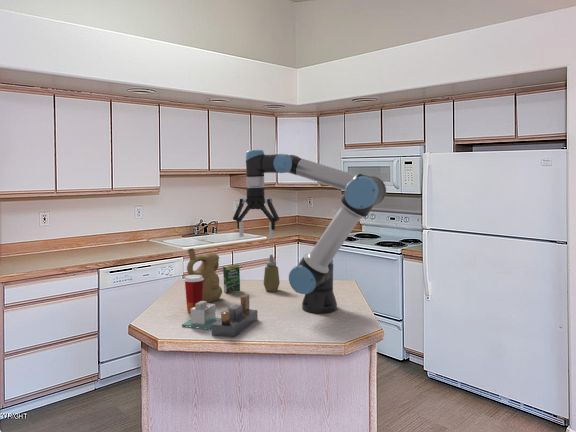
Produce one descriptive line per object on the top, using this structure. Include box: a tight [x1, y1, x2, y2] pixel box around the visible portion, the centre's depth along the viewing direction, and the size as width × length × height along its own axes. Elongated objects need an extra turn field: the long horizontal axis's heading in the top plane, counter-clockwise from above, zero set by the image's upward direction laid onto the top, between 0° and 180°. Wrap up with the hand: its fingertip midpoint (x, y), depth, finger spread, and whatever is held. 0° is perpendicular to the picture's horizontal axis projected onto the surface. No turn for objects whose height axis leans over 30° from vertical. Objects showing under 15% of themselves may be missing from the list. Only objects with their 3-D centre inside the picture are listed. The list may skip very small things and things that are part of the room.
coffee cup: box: [183, 274, 204, 313], centre depth 207 cm, size 8×8×15 cm
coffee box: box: [222, 264, 241, 294], centre depth 240 cm, size 8×3×13 cm, turn 125°
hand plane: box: [211, 293, 259, 338], centre depth 186 cm, size 9×22×10 cm, turn 161°
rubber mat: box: [181, 317, 221, 330], centre depth 191 cm, size 12×12×1 cm
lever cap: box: [190, 301, 217, 326], centre depth 190 cm, size 6×9×8 cm, turn 161°
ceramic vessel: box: [186, 248, 223, 304], centre depth 224 cm, size 17×20×25 cm
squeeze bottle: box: [263, 254, 281, 293], centre depth 241 cm, size 8×8×18 cm
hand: (256, 237), depth 206 cm, fingers open, 13 cm apart
